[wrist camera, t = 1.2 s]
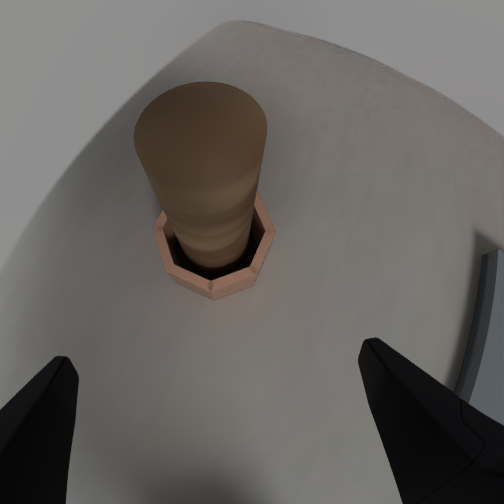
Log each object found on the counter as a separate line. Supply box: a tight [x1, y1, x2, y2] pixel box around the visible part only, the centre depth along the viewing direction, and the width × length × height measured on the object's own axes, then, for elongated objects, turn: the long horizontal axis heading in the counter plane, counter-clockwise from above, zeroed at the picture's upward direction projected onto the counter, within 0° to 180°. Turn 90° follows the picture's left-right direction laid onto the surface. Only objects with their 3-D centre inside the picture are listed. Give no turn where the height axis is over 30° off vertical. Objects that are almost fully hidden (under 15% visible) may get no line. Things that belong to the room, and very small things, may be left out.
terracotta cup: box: [153, 191, 276, 300], centre depth 21 cm, size 7×7×4 cm
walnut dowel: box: [134, 82, 267, 278], centre depth 16 cm, size 4×4×14 cm
